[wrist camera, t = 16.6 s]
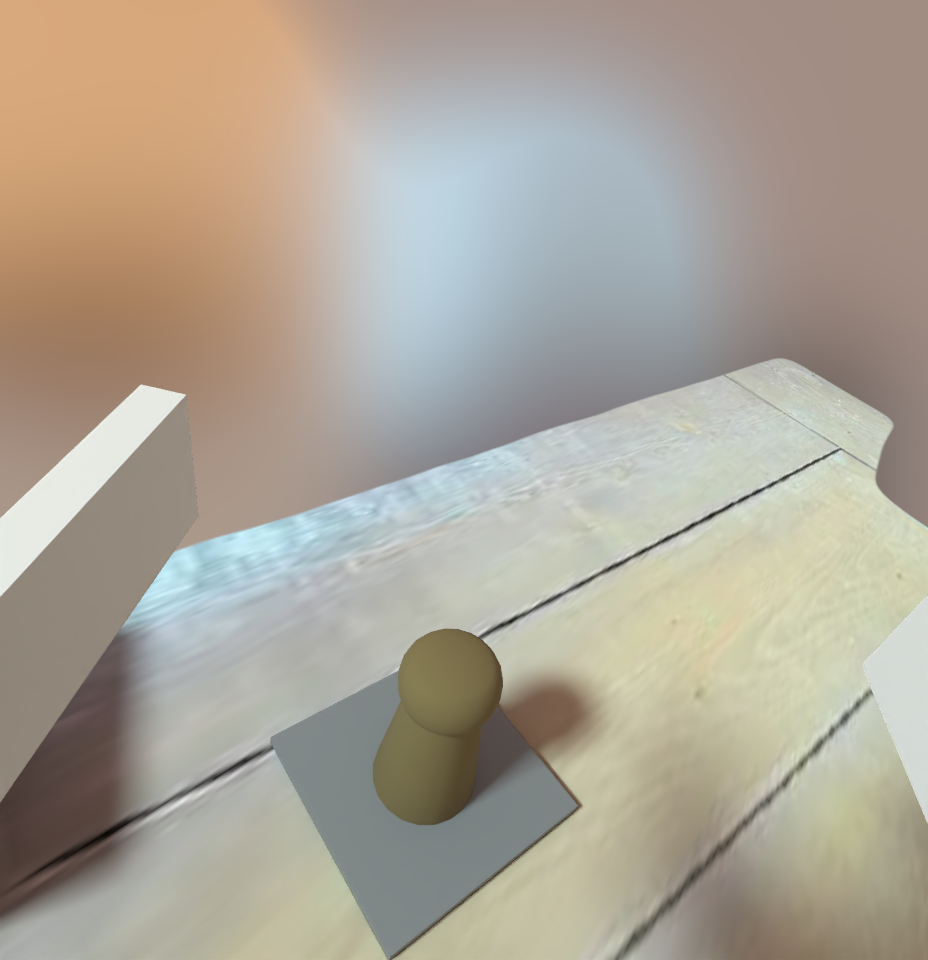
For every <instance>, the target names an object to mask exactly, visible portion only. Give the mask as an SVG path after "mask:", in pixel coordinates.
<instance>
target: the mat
mask: <svg viewBox="0 0 928 960" xmlns="http://www.w3.org/2000/svg"><path fill="white" fill-rule="evenodd" d="M398 673H399V671H397V672H395V673H393V674H391V675H390V676H388V677H386V678H384V679H382V680H380V681H378V682H376V683H374V684H372V685H370V686H368V687H366V688H365V689H363V690H361V691H359V692H357V693H355V694H353V695H351V696H349V697H347V698H345V699H343V700H341V701H340V702H338V703H336V704H334V705H332V706H330V707H328V708H326V709H324V710H322V711H320V712H318V713H316V714H315V715H313V716H311V717H309V718H307V719H305V720H303V721H301V722H299V723H297V724H295V725H293V726H291V727H290V728H288V729H286V730H284V731H282V732H280V733H278V734H276V735H274V736H272V737H271V744H272V746H273V748H274V750H275V752H276V753H277V755H278V757H279V759H280V761H281V763H282V765H283V766H284V768H285V770H286V772H287V774H288V776H289V778H290V779H291V781H292V783H293V785H294V787H295V789H296V790H297V792H298V794H299V796H300V798H301V800H302V802H303V803H304V805H305V807H306V809H307V811H308V813H309V815H310V816H311V818H312V820H313V822H314V824H315V826H316V827H317V829H318V831H319V833H320V835H321V837H322V839H323V840H324V842H325V844H326V846H327V848H328V850H329V852H330V853H331V855H332V857H333V859H334V861H335V863H336V865H337V866H338V868H339V870H340V872H341V874H342V876H343V877H344V879H345V881H346V883H347V885H348V887H349V889H350V890H351V892H352V894H353V896H354V898H355V900H356V902H357V903H358V905H359V907H360V909H361V911H362V913H363V915H364V916H365V918H366V920H367V922H368V924H369V926H370V927H371V929H372V931H373V933H374V935H375V937H376V939H377V940H378V942H379V944H380V946H381V948H382V950H383V952H384V953H385V955H386V957H387V959H388V960H391V959H392V958H393V957H394V956H396V955H397V954H398V953H399V952H401V951H402V950H403V949H404V948H406V947H407V946H408V945H409V944H411V943H412V942H413V941H414V940H415V939H417V938H418V937H419V936H420V935H422V934H423V933H424V932H425V931H427V930H428V929H429V928H430V927H432V926H433V925H434V924H435V923H437V922H438V921H439V920H440V919H441V918H443V917H444V916H445V915H446V914H448V913H449V912H450V911H451V910H453V909H454V908H455V907H456V906H458V905H459V904H460V903H461V902H463V901H464V900H465V899H466V898H467V897H469V896H470V895H471V894H472V893H474V892H475V891H476V890H477V889H479V888H480V887H481V886H482V885H484V884H485V883H486V882H487V881H489V880H490V879H491V878H492V877H493V876H495V875H496V874H497V873H498V872H500V871H501V870H502V869H503V868H505V867H506V866H507V865H508V864H510V863H511V862H512V861H513V860H515V859H516V858H517V857H518V856H519V855H521V854H522V853H523V852H524V851H526V850H527V849H528V848H529V847H531V846H532V845H533V844H534V843H536V842H537V841H538V840H539V839H541V838H542V837H543V836H544V835H545V834H547V833H548V832H549V831H550V830H552V829H553V828H554V827H555V826H557V825H558V824H559V823H560V822H562V821H563V820H564V819H565V818H567V817H568V816H569V815H570V814H571V813H573V812H574V811H575V810H576V808H577V807H578V805H577V804H576V802H575V801H574V800H573V799H572V798H571V796H570V795H569V794H568V793H567V791H566V790H565V789H564V788H563V786H562V785H561V784H560V783H559V781H558V780H557V779H556V778H555V776H554V775H553V774H552V773H551V772H550V770H549V769H548V768H547V767H546V765H545V764H544V763H543V762H542V760H541V759H540V758H539V757H538V755H537V754H536V753H535V752H534V750H533V749H532V748H531V747H530V746H529V744H528V743H527V742H526V741H525V739H524V738H523V737H522V736H521V734H520V733H519V732H518V731H517V729H516V728H515V727H514V726H513V724H512V723H511V722H510V721H509V720H508V718H507V717H506V716H505V715H504V713H503V712H502V711H501V710H500V708H499V707H498V706H497V708H496V709H495V711H494V712H493V714H492V716H491V717H490V719H489V720H488V721H487V722H485V723H484V724H483V725H482V728H481V736H480V744H479V753H478V761H477V769H476V777H475V783H474V787H473V792H472V796H471V797H470V799H469V801H468V802H467V804H466V806H465V807H464V809H463V810H461V811H460V812H459V813H458V814H457V815H455V816H454V817H453V818H452V819H450V820H447V821H445V822H442V823H439V824H436V825H416V824H413V823H410V822H406V821H403V820H401V819H400V818H398V817H397V816H396V815H394V814H393V813H391V812H390V811H389V810H388V809H387V808H386V807H385V805H384V804H383V803H382V801H381V800H380V798H379V797H378V795H377V792H376V789H375V786H374V782H373V762H374V760H375V757H376V754H377V751H378V748H379V746H380V744H381V742H382V740H383V738H384V736H385V733H386V731H387V729H388V727H389V725H390V723H391V721H392V718H393V716H394V714H395V712H396V710H397V708H398V705H399V703H400V701H401V699H400V696H399V692H398Z"/></svg>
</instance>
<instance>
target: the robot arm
mask: <svg viewBox="0 0 928 960" xmlns="http://www.w3.org/2000/svg"><path fill="white" fill-rule="evenodd" d="M196 497H197V496H196V487H195V477H194V467H193V458H192V447H191V437H190V428H189V418H188V408H187V399H186V395H185V394H180V393H176V392H171V391H167V390H163V389H157V388H154V387H149V386H145V385H140V386H139V387H138V388H137V389H136V390H135V391H134V392H133V393H132V394H131V395H130V396H129V397H127V398H126V400H124V401H123V402H122V403H121V404H120V405H119V406H118V407H117V408H116V409H115V410H114V411H113V412H112V413H111V414H110V415H109V416H107V417H106V418H105V419H104V420H103V421H102V422H101V423H100V424H99V425H98V426H97V427H96V428H95V429H94V430H93V431H92V432H91V433H90V434H89V435H87V436H86V437H85V438H84V439H83V440H82V441H81V442H80V443H79V444H78V445H77V446H76V447H75V448H74V449H73V450H72V451H71V452H70V453H69V454H67V455H66V456H65V457H64V458H63V459H62V460H61V461H60V462H59V463H58V464H57V465H56V466H55V467H54V468H53V469H52V470H51V471H50V472H48V474H47V475H45V476H44V477H43V478H42V479H41V480H40V481H39V482H38V483H37V484H36V485H35V486H34V487H33V488H32V489H31V490H30V491H29V492H27V493H26V494H25V495H24V496H23V497H22V498H21V499H20V500H19V501H18V502H17V503H16V504H15V505H14V506H13V507H12V508H11V509H10V510H9V511H7V512H6V513H5V514H4V515H3V516H2V517H1V518H0V802H1V801H2V799H3V798H4V796H5V795H6V794H7V792H8V791H9V789H10V788H11V786H12V785H13V783H14V782H15V780H16V779H17V778H18V776H19V775H20V773H21V772H22V770H23V769H24V767H25V766H26V765H27V763H28V762H29V760H30V759H31V757H32V756H33V754H34V753H35V752H36V750H37V749H38V747H39V746H40V744H41V743H42V741H43V740H44V739H45V737H46V736H47V734H48V733H49V731H50V730H51V728H52V727H53V726H54V724H55V723H56V721H57V720H58V718H59V717H60V715H61V714H62V713H63V711H64V710H65V708H66V707H67V705H68V704H69V702H70V701H71V700H72V698H73V697H74V695H75V694H76V692H77V691H78V689H79V688H80V687H81V685H82V684H83V682H84V681H85V679H86V678H87V676H88V675H89V674H90V672H91V671H92V669H93V668H94V666H95V665H96V663H97V662H98V661H99V659H100V658H101V656H102V655H103V653H104V652H105V650H106V649H107V648H108V646H109V645H110V643H111V642H112V640H113V639H114V637H115V636H116V634H117V633H118V632H119V630H120V629H121V627H122V626H123V624H124V623H125V621H126V620H127V619H128V617H129V616H130V614H131V613H132V611H133V610H134V608H135V607H136V606H137V604H138V603H139V601H140V600H141V598H142V597H143V595H144V594H145V593H146V591H147V590H148V588H149V587H150V585H151V584H152V582H153V581H154V580H155V578H156V577H157V575H158V574H159V572H160V571H161V569H162V568H163V567H164V565H165V564H166V562H167V561H168V559H169V558H170V556H171V555H172V554H173V552H174V551H175V549H176V547H177V546H178V545H179V543H180V542H181V540H182V539H183V538H184V536H185V535H186V533H187V532H188V530H189V529H190V527H191V526H192V525H193V523H194V522H195V520H196V519H197V517H198V507H197V498H196ZM862 668H863V670H864V672H865V675H866V677H867V680H868V682H869V684H870V687H871V689H872V692H873V694H874V696H875V699H876V701H877V704H878V706H879V708H880V711H881V713H882V716H883V718H884V720H885V723H886V725H887V728H888V730H889V732H890V735H891V737H892V740H893V742H894V744H895V747H896V749H897V752H898V754H899V756H900V759H901V761H902V764H903V766H904V768H905V771H906V773H907V776H908V778H909V780H910V783H911V785H912V788H913V790H914V792H915V795H916V797H917V800H918V802H919V804H920V807H921V809H922V812H923V814H924V816H925V819H926V821H927V824H928V595H927V596H926V597H925V598H924V599H923V600H922V601H921V602H920V603H919V604H918V605H917V606H916V608H915V609H914V610H913V611H912V612H911V613H910V614H909V615H908V616H907V617H906V618H905V619H904V620H903V621H902V622H901V624H900V625H899V626H898V627H897V628H896V629H895V630H894V631H893V632H892V633H891V634H890V635H889V636H888V637H887V638H886V639H885V641H884V642H883V643H882V644H881V645H880V646H879V647H878V648H877V649H876V650H875V651H874V652H873V653H872V654H871V655H870V656H869V658H868V659H867V660H866V661H865V662H864V663H863V664H862Z"/></svg>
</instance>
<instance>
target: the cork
mask: <svg viewBox="0 0 928 960" xmlns="http://www.w3.org/2000/svg"><path fill="white" fill-rule="evenodd" d="M502 688H503V678H502V672H501V666H500V664H499V662H498V660H497V658H496V656H495V654H494V652H493V651H492V650H491V648H490V647H489V646H488V645H487V644H486V643H485V642H484V641H483V640H481V639H480V638H478V637H476V636H475V635H473V634H471V633H469V632H465V631H462V630H459V629H442V630H437V631H433V632H430V633H428V634H426V635H425V636H423V637H421V638H419V639H418V640H416V641H415V642H414V644H413V645H412V646H411V647H410V648H409V649H408V651H407V652H406V654H405V655H404V657H403V660H402V663H401V665H400V668H399V673H398V692H399V696H400V699H401V701H400V703H399V705H398V708H397V710H396V712H395V714H394V716H393V718H392V721H391V723H390V725H389V727H388V729H387V731H386V733H385V736H384V738H383V740H382V742H381V744H380V746H379V748H378V751H377V754H376V757H375V760H374V762H373V782H374V786H375V789H376V792H377V795H378V797H379V798H380V800H381V801H382V803H383V804H384V805H385V807H386V808H387V809H388V810H389V811H390V812H391V813H393V814H394V815H396V816H397V817H398V818H400V819H401V820H403V821H406V822H410V823H413V824H416V825H436V824H439V823H442V822H445V821H447V820H450V819H452V818H453V817H454V816H455V815H457V814H458V813H459V812H460V811H461V810H463V809H464V807H465V806H466V804H467V802H468V801H469V799H470V797H471V796H472V792H473V787H474V783H475V777H476V769H477V761H478V753H479V744H480V736H481V728H482V725H483V724H484V723H485V722H487V721H488V720H489V719H490V717H491V716H492V714H493V712H494V711H495V709H496V708H497V706H498V704H499V701H500V698H501V693H502Z"/></svg>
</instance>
